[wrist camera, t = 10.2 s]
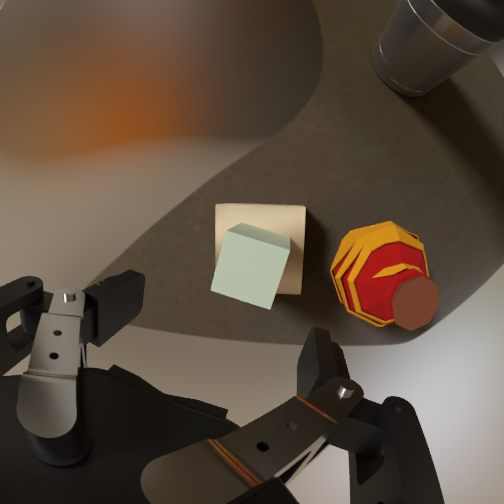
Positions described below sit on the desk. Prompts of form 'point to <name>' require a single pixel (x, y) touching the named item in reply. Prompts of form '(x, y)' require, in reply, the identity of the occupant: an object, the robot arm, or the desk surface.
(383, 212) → the desk surface
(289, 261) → the beech base
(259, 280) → the green block
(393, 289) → the potion bottle
